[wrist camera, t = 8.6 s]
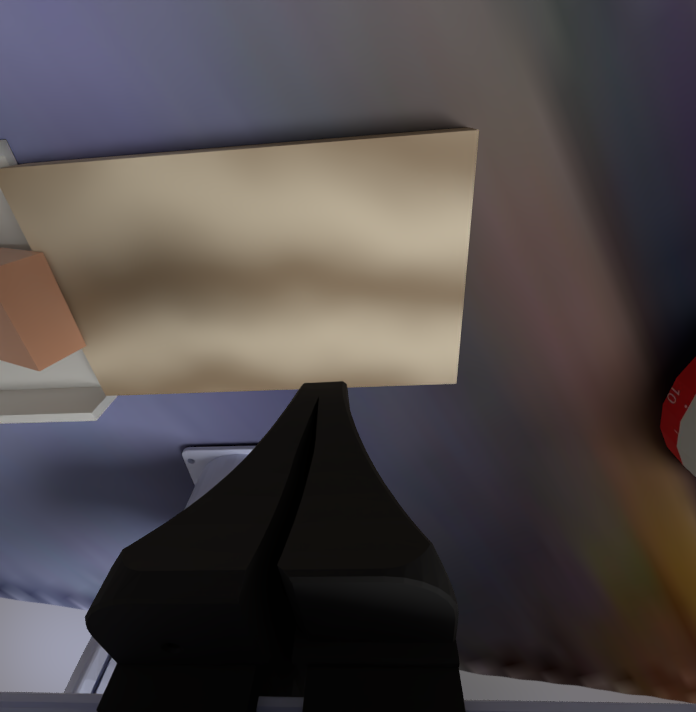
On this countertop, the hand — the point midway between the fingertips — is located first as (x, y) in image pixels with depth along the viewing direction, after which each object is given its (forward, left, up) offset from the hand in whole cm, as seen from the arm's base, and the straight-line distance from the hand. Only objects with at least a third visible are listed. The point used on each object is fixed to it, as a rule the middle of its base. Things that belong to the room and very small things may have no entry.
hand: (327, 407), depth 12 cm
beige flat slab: (+1, +4, -10) cm, 11 cm away
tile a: (+1, +16, -8) cm, 18 cm away
